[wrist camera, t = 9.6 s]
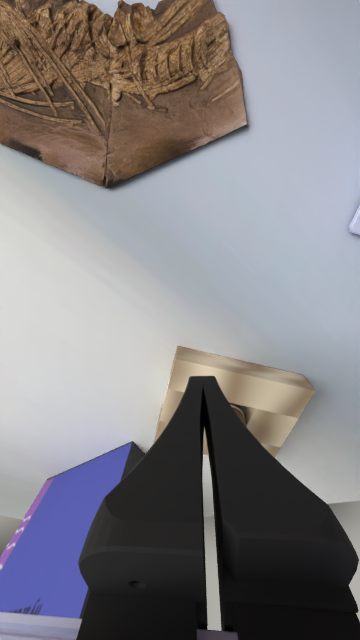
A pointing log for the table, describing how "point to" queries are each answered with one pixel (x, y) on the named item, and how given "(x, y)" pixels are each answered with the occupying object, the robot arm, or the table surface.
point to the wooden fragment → (115, 83)
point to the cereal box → (59, 538)
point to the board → (242, 394)
